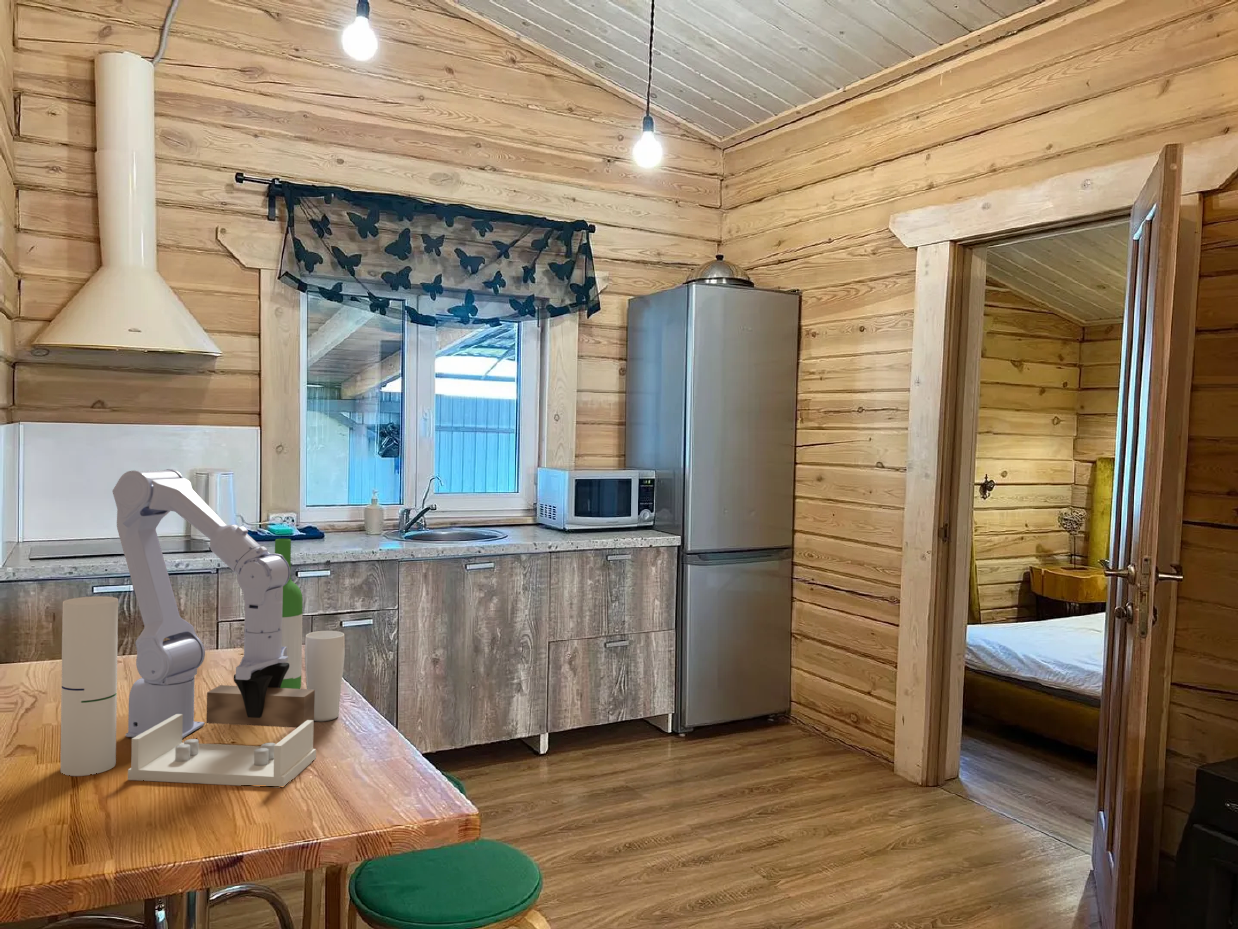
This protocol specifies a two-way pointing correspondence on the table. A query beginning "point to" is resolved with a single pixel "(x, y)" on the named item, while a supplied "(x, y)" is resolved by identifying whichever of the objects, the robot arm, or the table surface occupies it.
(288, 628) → the wine bottle
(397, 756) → the table surface
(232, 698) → the brown wooden bar
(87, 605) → the cylindrical container
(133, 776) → the shelf stand
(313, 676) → the drinking glass
